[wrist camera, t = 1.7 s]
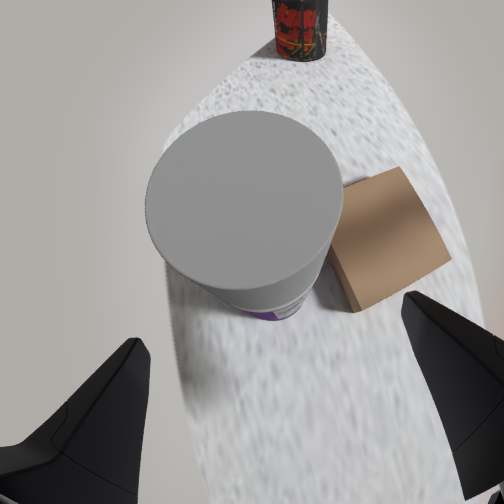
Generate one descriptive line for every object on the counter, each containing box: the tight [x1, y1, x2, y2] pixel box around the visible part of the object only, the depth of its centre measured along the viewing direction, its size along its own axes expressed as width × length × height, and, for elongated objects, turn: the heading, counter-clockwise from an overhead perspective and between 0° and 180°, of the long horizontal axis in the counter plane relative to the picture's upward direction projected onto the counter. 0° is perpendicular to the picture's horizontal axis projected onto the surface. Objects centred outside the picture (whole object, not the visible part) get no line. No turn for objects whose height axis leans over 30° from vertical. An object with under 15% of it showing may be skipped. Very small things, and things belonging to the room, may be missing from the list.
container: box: [145, 111, 343, 321], centre depth 13 cm, size 5×5×15 cm
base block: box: [327, 166, 451, 313], centre depth 19 cm, size 8×8×2 cm
